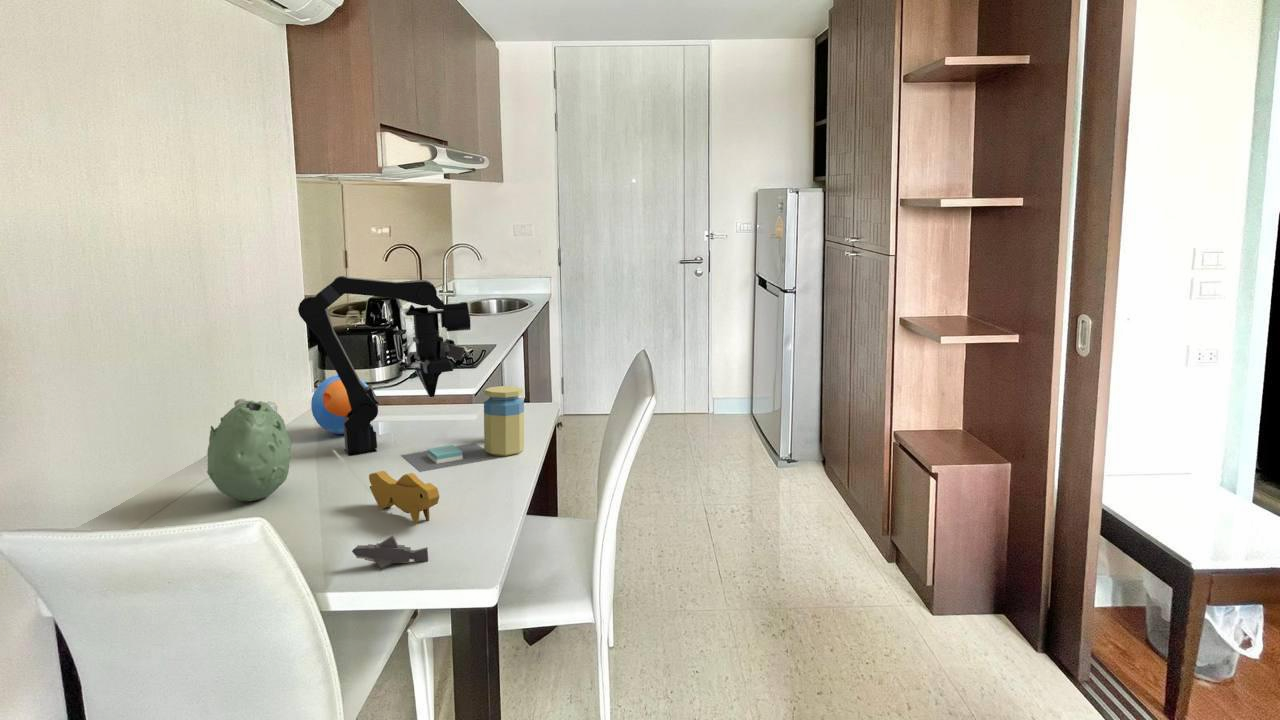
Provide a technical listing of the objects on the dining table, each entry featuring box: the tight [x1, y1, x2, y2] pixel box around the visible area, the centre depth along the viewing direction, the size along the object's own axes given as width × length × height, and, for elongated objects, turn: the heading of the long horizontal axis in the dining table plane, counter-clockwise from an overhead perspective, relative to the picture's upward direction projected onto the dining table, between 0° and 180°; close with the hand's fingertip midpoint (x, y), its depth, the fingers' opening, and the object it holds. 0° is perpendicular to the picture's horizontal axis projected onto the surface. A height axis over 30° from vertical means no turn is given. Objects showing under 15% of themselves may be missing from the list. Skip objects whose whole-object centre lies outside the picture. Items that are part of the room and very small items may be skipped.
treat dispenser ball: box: [310, 374, 368, 435], centre depth 229 cm, size 16×15×15 cm
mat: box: [400, 442, 498, 473], centre depth 203 cm, size 18×16×1 cm
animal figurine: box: [351, 534, 429, 571], centre depth 142 cm, size 12×4×5 cm, turn 100°
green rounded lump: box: [206, 398, 292, 502], centre depth 177 cm, size 16×19×20 cm
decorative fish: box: [368, 470, 440, 525], centre depth 165 cm, size 22×3×10 cm, turn 44°
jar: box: [483, 385, 525, 457], centre depth 204 cm, size 9×9×15 cm
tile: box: [426, 444, 463, 464], centre depth 202 cm, size 6×2×7 cm
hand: (431, 396), depth 213 cm, fingers closed
